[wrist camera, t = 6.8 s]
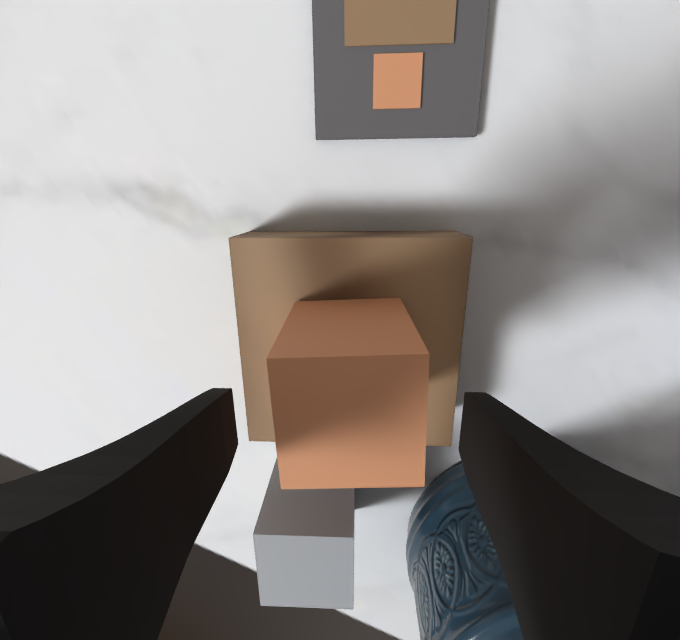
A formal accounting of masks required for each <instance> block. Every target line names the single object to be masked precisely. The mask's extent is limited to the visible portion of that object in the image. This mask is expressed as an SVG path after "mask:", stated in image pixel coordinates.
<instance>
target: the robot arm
mask: <svg viewBox="0 0 680 640" xmlns="http://www.w3.org/2000/svg"><path fill="white" fill-rule="evenodd" d="M237 446H238V438H237V429H236V420H235V412H234V403H233V394H232V388H212V389H210V390H208V391H206V392H204V393H202V394H200V395H198V396H197V397H195V398H193V399H191V400H190V401H188V402H186V403H184V404H183V405H181V406H179V407H178V408H176V409H174V410H172V411H171V412H169V413H167V414H166V415H164V416H162V417H160V418H159V419H157V420H155V421H153V422H151V423H149V424H147V425H146V426H144V427H142V428H140V429H138V430H136V431H134V432H133V433H131V434H129V435H127V436H125V437H123V438H121V439H119V440H117V441H114V442H112V443H110V444H108V445H106V446H103V447H101V448H99V449H97V450H94V451H92V452H90V453H87V454H85V455H83V456H80V457H77V458H75V459H72V460H69V461H67V462H64V463H61V464H59V465H56V466H53V467H51V468H48V469H45V470H43V471H40V472H37V473H34V474H31V475H28V476H25V477H22V478H19V479H16V480H13V481H9V482H6V483H3V484H0V640H157V639H158V636H159V633H160V631H161V628H162V625H163V622H164V619H165V617H166V614H167V611H168V608H169V606H170V603H171V600H172V597H173V594H174V592H175V589H176V587H177V584H178V581H179V579H180V576H181V573H182V571H183V568H184V565H185V563H186V560H187V558H188V555H189V553H190V551H191V549H192V546H193V544H194V542H195V540H196V538H197V536H198V534H199V532H200V530H201V528H202V526H203V524H204V522H205V520H206V518H207V516H208V514H209V512H210V510H211V508H212V506H213V504H214V502H215V500H216V498H217V496H218V494H219V491H220V489H221V487H222V485H223V483H224V481H225V479H226V477H227V475H228V473H229V470H230V467H231V464H232V461H233V458H234V455H235V452H236V449H237ZM459 453H460V457H461V461H462V465H463V468H464V472H465V476H466V479H467V482H468V484H469V487H470V489H471V492H472V494H473V497H474V499H475V502H476V504H477V506H478V509H479V511H480V514H481V516H482V519H483V521H484V523H485V526H486V528H487V531H488V533H489V535H490V538H491V540H492V543H493V545H494V547H495V550H496V552H497V555H498V558H499V560H500V563H501V566H502V569H503V572H504V575H505V578H506V581H507V585H508V588H509V591H510V595H511V598H512V601H513V604H514V608H515V611H516V614H517V618H518V621H519V625H520V628H521V632H522V635H523V639H524V640H680V497H678V496H675V495H673V494H670V493H667V492H665V491H662V490H660V489H658V488H655V487H653V486H651V485H648V484H646V483H644V482H641V481H639V480H637V479H634V478H632V477H630V476H628V475H625V474H623V473H621V472H619V471H617V470H615V469H612V468H610V467H608V466H607V465H605V464H603V463H601V462H599V461H597V460H595V459H593V458H591V457H589V456H587V455H585V454H583V453H581V452H579V451H577V450H576V449H574V448H572V447H570V446H569V445H567V444H565V443H564V442H562V441H560V440H558V439H557V438H555V437H553V436H552V435H550V434H549V433H547V432H545V431H544V430H542V429H541V428H539V427H537V426H536V425H534V424H533V423H531V422H530V421H528V420H527V419H525V418H524V417H522V416H521V415H519V414H518V413H516V412H515V411H513V410H512V409H510V408H509V407H507V406H506V405H504V404H503V403H501V402H500V401H498V400H497V399H495V398H494V397H492V396H491V395H489V394H487V393H481V392H465V395H464V404H463V413H462V422H461V431H460V441H459Z"/></svg>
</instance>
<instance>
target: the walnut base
mask: <svg viewBox="0 0 680 640" xmlns="http://www.w3.org/2000/svg"><path fill="white" fill-rule="evenodd" d="M472 241H473V237H470V236H467V235H464V234H462V233H459V232H456V231H278V232H246V233H243V234H240V235H236V236H233V237H230V238H229V247H230V257H231V267H232V277H233V287H234V296H235V306H236V316H237V326H238V336H239V346H240V356H241V366H242V376H243V386H244V396H245V406H246V416H247V426H248V436H249V441H270V442H276V441H275V432H274V424H273V415H272V406H271V397H270V388H269V379H268V370H267V361H266V358H267V356H268V354H269V352H270V350H271V348H272V346H273V344H274V342H275V340H276V338H277V336H278V334H279V333H280V331H281V329H282V327H283V325H284V323H285V321H286V319H287V317H288V315H289V313H290V311H291V309H292V307H293V305H294V303H295V301H319V300H348V299H378V298H400V299H401V301H402V302H403V304H404V306H405V308H406V310H407V312H408V314H409V316H410V318H411V320H412V321H413V323H414V325H415V327H416V329H417V331H418V333H419V335H420V337H421V339H422V340H423V342H424V344H425V346H426V348H427V350H428V352H429V354H430V356H429V382H428V408H427V434H426V446H451V441H452V432H453V422H454V413H455V403H456V394H457V384H458V375H459V365H460V355H461V346H462V336H463V327H464V317H465V308H466V298H467V289H468V279H469V270H470V260H471V251H472Z"/></svg>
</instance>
